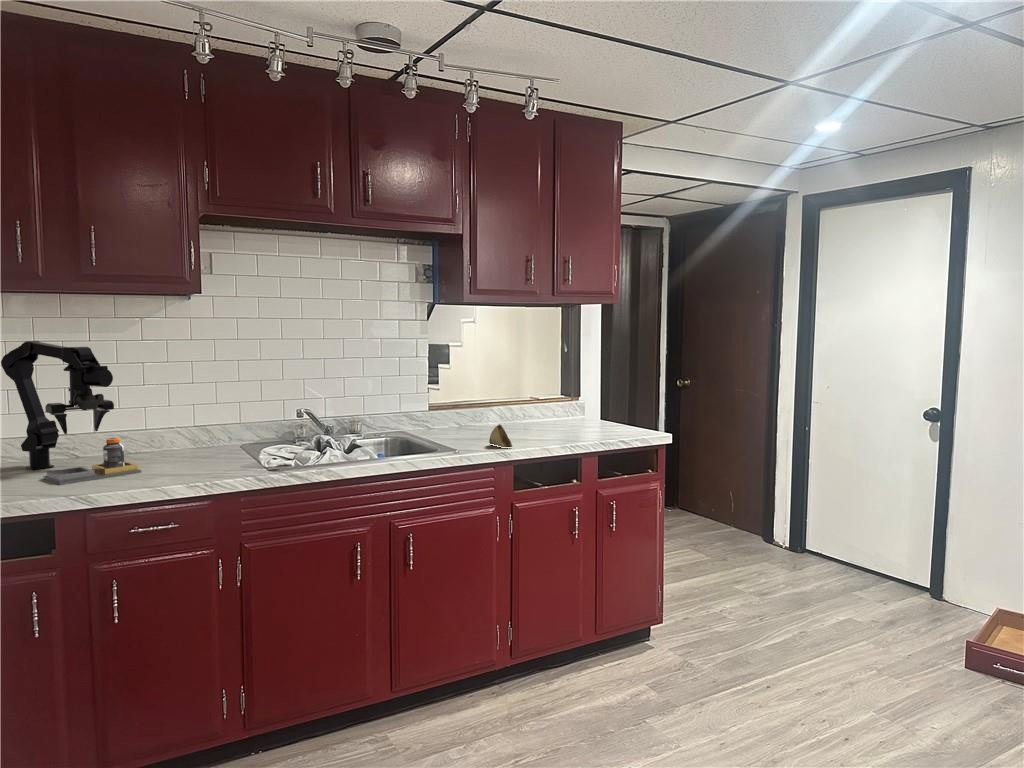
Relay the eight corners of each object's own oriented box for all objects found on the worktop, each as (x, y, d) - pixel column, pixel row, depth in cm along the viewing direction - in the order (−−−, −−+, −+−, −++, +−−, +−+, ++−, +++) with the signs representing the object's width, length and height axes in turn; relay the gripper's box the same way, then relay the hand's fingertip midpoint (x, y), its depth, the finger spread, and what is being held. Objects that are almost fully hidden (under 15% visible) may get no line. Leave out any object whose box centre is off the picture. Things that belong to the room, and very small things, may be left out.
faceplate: (43, 478, 225) (43, 470, 225) (123, 467, 244) (123, 459, 244) (59, 485, 217) (59, 476, 217) (141, 472, 236) (141, 464, 236)
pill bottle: (128, 470, 239) (127, 436, 238) (119, 474, 233) (118, 439, 232) (109, 470, 238) (108, 436, 237) (100, 474, 232) (99, 439, 231)
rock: (482, 439, 293) (486, 440, 283) (494, 422, 294) (498, 422, 284) (503, 455, 294) (508, 456, 284) (515, 438, 295) (520, 438, 286)
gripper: (57, 389, 223) (59, 439, 224) (120, 385, 237) (121, 432, 239) (44, 386, 230) (45, 434, 231) (106, 383, 244) (107, 428, 246)
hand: (81, 432), depth 237 cm, fingers open, 9 cm apart
